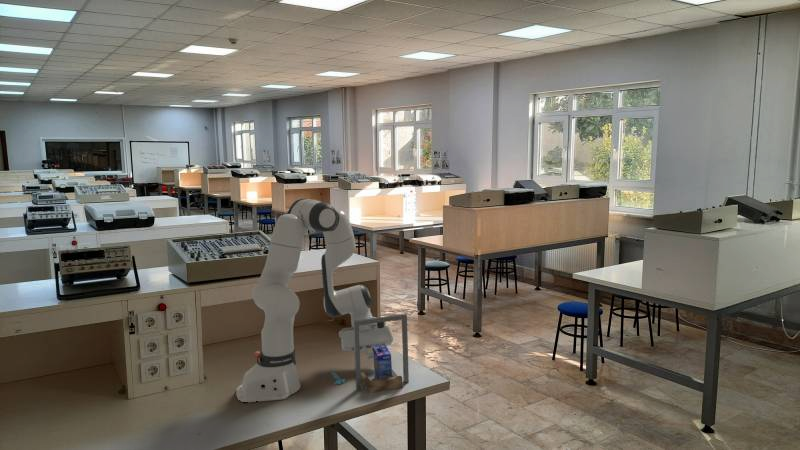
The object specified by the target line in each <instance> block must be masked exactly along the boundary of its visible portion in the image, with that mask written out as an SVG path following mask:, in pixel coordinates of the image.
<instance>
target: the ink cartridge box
mask: <svg viewBox="0 0 800 450" xmlns="http://www.w3.org/2000/svg"><path fill="white" fill-rule="evenodd" d="M377 345H378V344H377ZM372 352H373V356H374V358H373V370H374V378H375V379H374V380H379V379H385V378H390V377H392V370H393V365H392V364H393V363H392V354H391V351H390V350H389V348H388V345H387V346H386V345H383V346H379V345H378V346H374V347H373V350H372Z"/></svg>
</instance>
